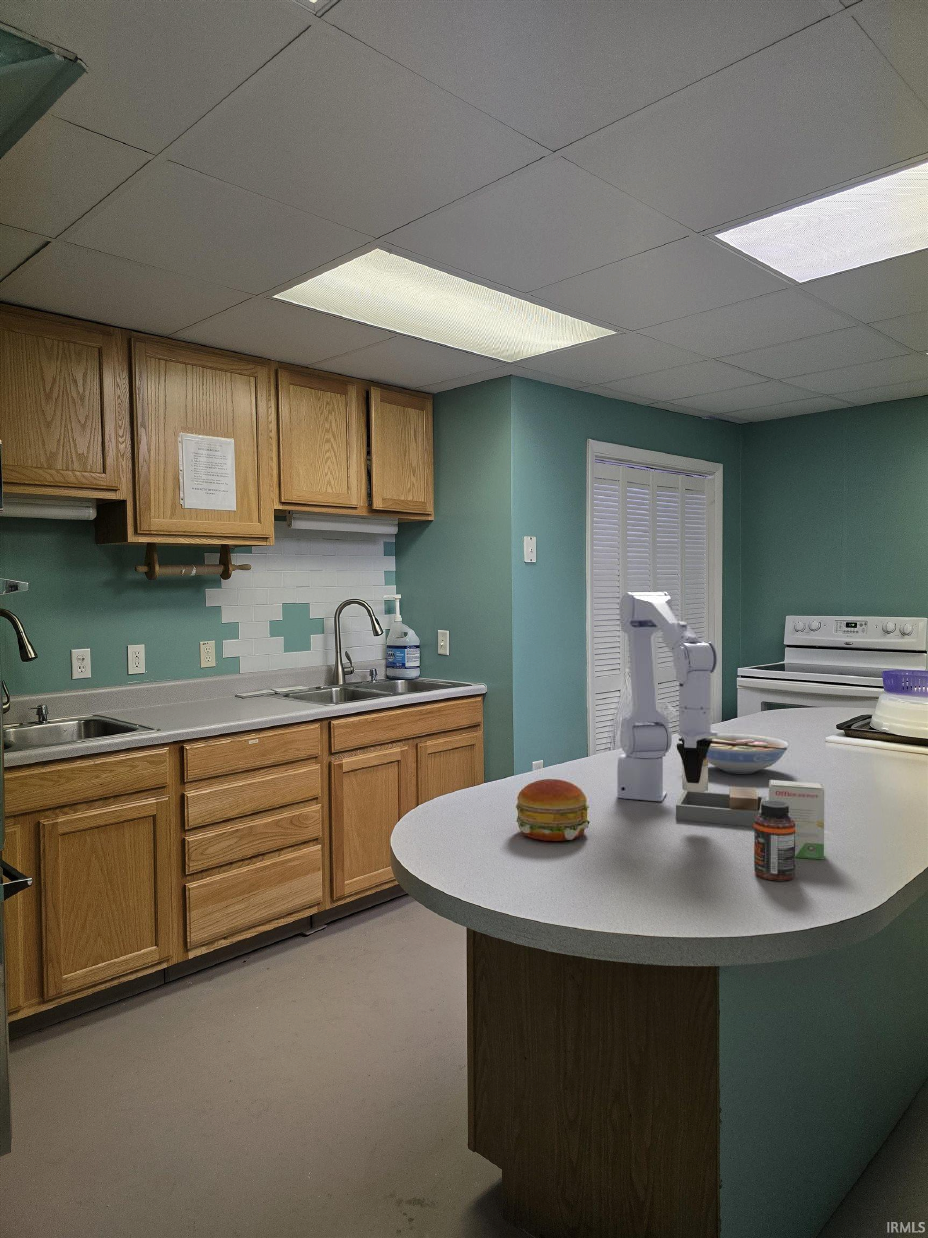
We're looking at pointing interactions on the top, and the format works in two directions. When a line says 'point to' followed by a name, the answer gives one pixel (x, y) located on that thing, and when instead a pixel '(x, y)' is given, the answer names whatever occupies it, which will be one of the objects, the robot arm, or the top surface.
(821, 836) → the ink box
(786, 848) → the supplement bottle
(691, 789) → the jar
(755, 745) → the ramen bowl
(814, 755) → the top surface
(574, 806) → the burger
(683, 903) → the top surface
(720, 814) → the tote
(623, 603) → the robot arm
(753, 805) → the block
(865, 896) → the top surface
